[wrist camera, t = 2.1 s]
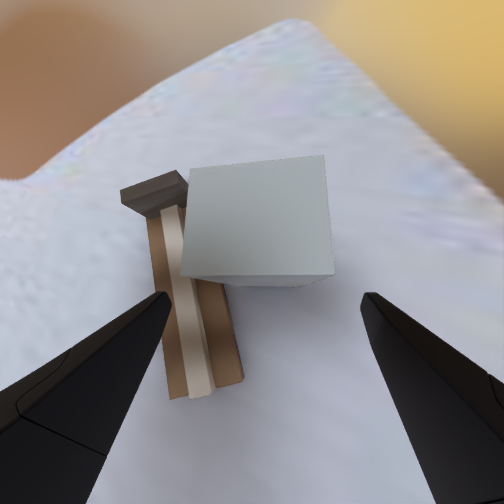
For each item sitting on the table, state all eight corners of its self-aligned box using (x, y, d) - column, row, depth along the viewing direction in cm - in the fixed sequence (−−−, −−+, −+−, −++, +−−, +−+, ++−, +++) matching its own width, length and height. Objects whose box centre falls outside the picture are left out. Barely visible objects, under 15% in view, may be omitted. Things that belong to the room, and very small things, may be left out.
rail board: (244, 376, 17) (229, 409, 12) (175, 393, 18) (136, 431, 13) (202, 195, 22) (180, 167, 17) (150, 213, 23) (115, 191, 18)
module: (301, 286, 18) (335, 274, 7) (241, 286, 19) (180, 275, 7) (298, 238, 19) (324, 154, 8) (242, 240, 20) (190, 168, 9)
